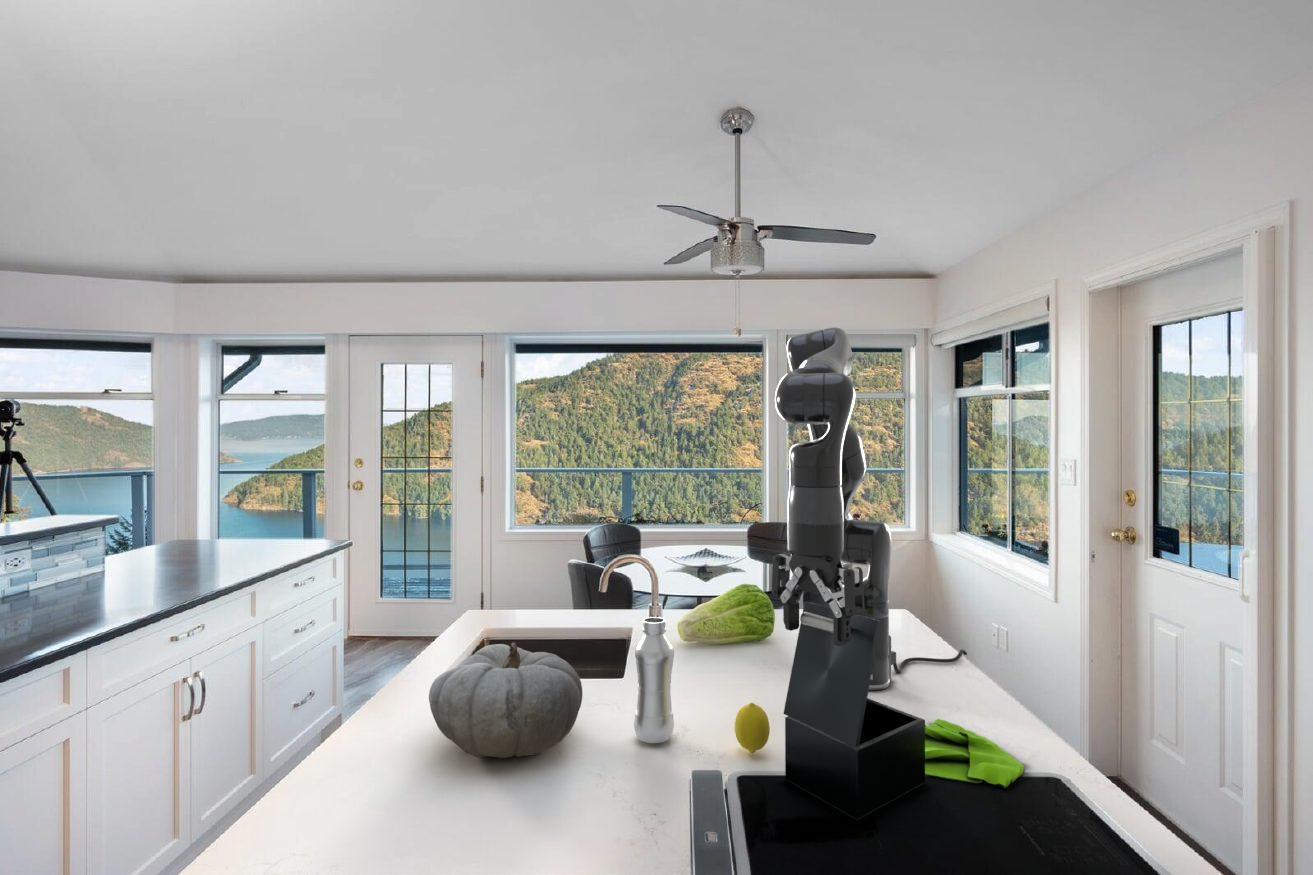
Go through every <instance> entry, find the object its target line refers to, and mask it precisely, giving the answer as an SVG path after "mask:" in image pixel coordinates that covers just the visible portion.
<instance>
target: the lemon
mask: <svg viewBox="0 0 1313 875" xmlns="http://www.w3.org/2000/svg"><path fill="white" fill-rule="evenodd" d="M770 730H771V727H770V722H769V718H768V715H767V713H766V711H765V710H764V709H763V708H762V707H761V706H760V705H758V704H755V702H749V703H748V704H745V705H743V706H742V707H741V708H740V709H738V711H737V712H736V716H735V720H734V735H735V738H736V740H737V742H738V744H739V746H741V747H742V748H743V749H745V750H747V751H748V752H749V753H750V754H754V753H756V752H757V751H759V750H761V749H763V748H764V747H765V746H766V744H767V743H768V741H769V738H770Z"/></svg>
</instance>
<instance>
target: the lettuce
mask: <svg viewBox="0 0 1313 875" xmlns="http://www.w3.org/2000/svg"><path fill="white" fill-rule="evenodd" d="M775 614H776V613H775V608H774V604H773V602H772V601H771V599H770V597H769V596H768V595H767V593H766V592H764V590H762V589H761V588H760V587H759V586H758V585H757V584H752V583H751V584H750V583H741V584H739V585H736V586H734V587H733V588H731V589H730V590H728V591H726V592H723V593H722V594H720V595H718V596H716V597H714V598H713V599H711V600H709V601H707V602H704V603H701V604H698V605H697V606H695V607H694V608H693V609H691V610H690V611H689V612H688V613H686V614H684V615H683V616H682V617H681V618H680V619H679V620H678V621H677V624H676V628H677V633H678V635H679V636H678V637H679V638H680V640H681V641H683V642H688V643H692V642H693V643H695V642H696V643H699V644H700V643H701V644H707V645H730V644H731V645H733V644H741V643H758V642H761V641H763V640H765V639H767V638H769V637H771V636H772V634H773V633H774V630H775V623H776V615H775Z"/></svg>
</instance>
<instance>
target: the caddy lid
mask: <svg viewBox="0 0 1313 875" xmlns="http://www.w3.org/2000/svg"><path fill="white" fill-rule="evenodd" d="M833 617H836V616H835V615H834V613H833V611H832V609H831V607H830V606H827V605H822V604H818V603H815V602H810V601H806V600H804V603H803V609H802V613H801V614H800V616H799V622H800V623H799V628H798V633H797V634H798V635H797V640H796V646H795V649H794V650H795V651H794V655H793V661H792V666H791V671H790V677H789V682H788V686H787V687H788V688H787V692H786V697H785V702H784V708H783V713H782V714H783V715H785V716H786V717H787V716H789V717H791V718H793V719H796V720H798V721H800V722H802V723H804V724H807V725H809V726H811V727H813V728H815V729H817V730H820V731H822V732H824V733H826V734H828V735H830V736H833V737H835V738H837V739H839V740H841V741H844V742H846V743H848V744H850V745H852V746H854V747H859V743H860V737H861V731H862V725H863V719H864V714H865V708H866V702H867V698H868V696H869V691H870V690H869V684H870V678H871V672H872V667H873V661H874V655H875V649H876V643H877V637H878V631H879V625H880V621H879V620H875V619H872V618H868V617H864V616H860V615H852V616H851V638H850V640H849V641H848V643H847V644H845V645H841V646H838V645H835V644H834V642H833Z"/></svg>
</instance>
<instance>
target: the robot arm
mask: <svg viewBox="0 0 1313 875" xmlns="http://www.w3.org/2000/svg"><path fill="white" fill-rule="evenodd" d="M851 345H852V344H851V341H850V339H849V336H848V334H847V332H846V331H845V330H843V329H842V328H840V327H828V328H823V329H819V330H813V331H811V332H810V331H809V332H805V333H801V334H798V335H793V336H792V337H790V338H789V339H788V341H787V344H786V354H787V361H788V364H789V368H790V371H789V372H787V373H786V374H785V375H784V376H783V377H781V379H780V380H779V383H778V385H777V387H776V390H775V397H774V403H775V404H774V405H775V409H776V412H777V415H779V417H780V418H781V420H782V421H784V422H786V423H788V424H790V425H798V426H801V425H802V426H803V425H807V430H808V432H809V437H810V440H808V441H803V442H802V441H801V442H798V443H795V444H793V445H792V446H791V447H790V448H789V455H788V465H789V468H788V470H789V471H788V478H789V480H788V481H789V482H788V484H789V485H788V495H787V504H786V505H787V506H786V507H787V508H786V509H787V512H786V513H787V514H786V515H787V519H786V520H787V526H786V527H787V534H786V535H787V551H788V552H789V553H790V554H789V553H780V554H775V555H773V557H772V572H771V594H772V596H773V597H777V598H778V599H780V601H781V603H782V604H783V609H782V610H783V612H782V613H783V615H782V616H783V618H782V620H783V624H784V629H785V630H786V631H792V632H793V631H795V630H799V629H800V602H798V600H799V599H800V597H801V596H802V594H803V593H812V594H814V595H817V596H821V597H822V599H823V601H824V602H825V603H827V604H828V605H829V607H830V608H831V609H832V611H833V613H834V615H835V616H836V617H833V642H834V644H835V645H838V646H841V645H845V644H847V643H848V641H849V640H850V638H851V616H852V615H860V616H864V617H868V618H872V619H875V620H879V621H880V625H879V631H878V637H877V643H876V649H875V655H874V661H873V667H872V672H871V678H870V684H869V690H868V691H878V690H883V689H887V688H888V687H889V686H890V683H891V682H892V666H893V670H894V672H895V673H896V674H901V673H902V672H903V669H904V668H905V665H906V664H908V663H910V662H911V663H912V662H929V663H941V664H943V663H954V662H957V661H958V660H960V659H961V657H962V655H964V656H967V655H968V653H967V650H965V649H964V648H961V649H960V650H959V651H958V653H957V655H956V656H955V657H952V658H932V657H917V656H915V657H908V658H905V659H903V661H901V663H900V665H899V667H898V664H897V651H893V650H892V636H891V634H890V587H891V585H890V584H891V563H892V543H893V542H892V533H891V530H890V527H889V525H887V524H886V523H885V522H882V521H873V520H861V519H860V520H859V519H854V518H853V517H852V515H851V502H852V500H853V499H854V496H855V494H856V492H857V491H858V489H859V487H860V486H861V484H862V482H863V479H864V477H865V475H866V471H867V461H866V457H865V456H866V455H865V452H864V447H863V442H862V439H861V436H860V434H859V432H858V431H857V430H856V429H855V428H854V427H853V425H851V423H850V420H851V417H852V413H853V410H854V407H855V403H856V388H855V384H854V383H853V380H851V377H849V376H848V375H850V374H851V372H852V370H853V364H854V359H853V351H852V346H851ZM843 563H844V564H847V565H853V566H854V565H855V566H856V567H844V565H843ZM860 566H862V567H868V572H867V575H865V576H864V572H863V569H862V567H860ZM791 573H792V575H791ZM833 591H834V592H833Z"/></svg>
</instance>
